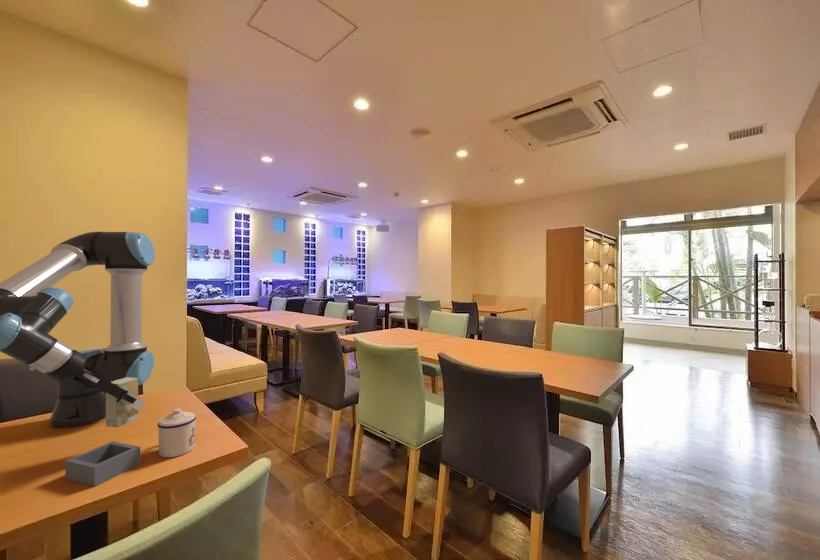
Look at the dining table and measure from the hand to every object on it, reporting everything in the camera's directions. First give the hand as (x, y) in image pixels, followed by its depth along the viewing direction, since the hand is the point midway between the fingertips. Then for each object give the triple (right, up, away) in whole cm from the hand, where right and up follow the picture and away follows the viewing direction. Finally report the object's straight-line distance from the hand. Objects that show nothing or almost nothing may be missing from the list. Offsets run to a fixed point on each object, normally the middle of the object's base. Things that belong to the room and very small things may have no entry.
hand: (137, 403), depth 103 cm
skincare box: (-2, -4, -3) cm, 6 cm away
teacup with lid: (+13, -12, -3) cm, 18 cm away
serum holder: (+3, -12, -14) cm, 19 cm away
